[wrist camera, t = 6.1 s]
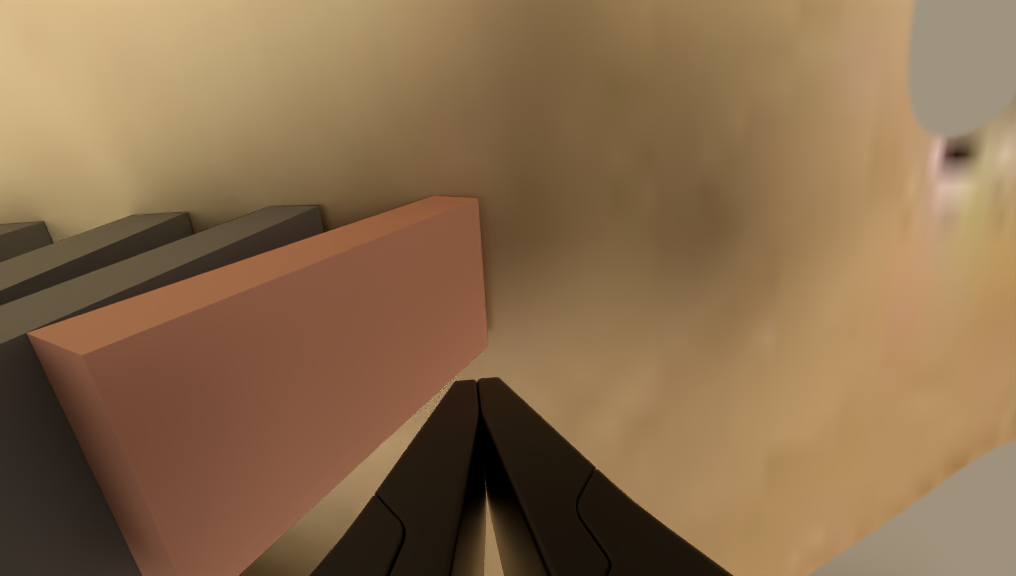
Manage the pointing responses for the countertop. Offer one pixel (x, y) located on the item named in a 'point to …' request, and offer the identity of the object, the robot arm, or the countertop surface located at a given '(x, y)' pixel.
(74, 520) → the domino
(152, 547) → the domino
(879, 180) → the countertop surface
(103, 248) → the domino
